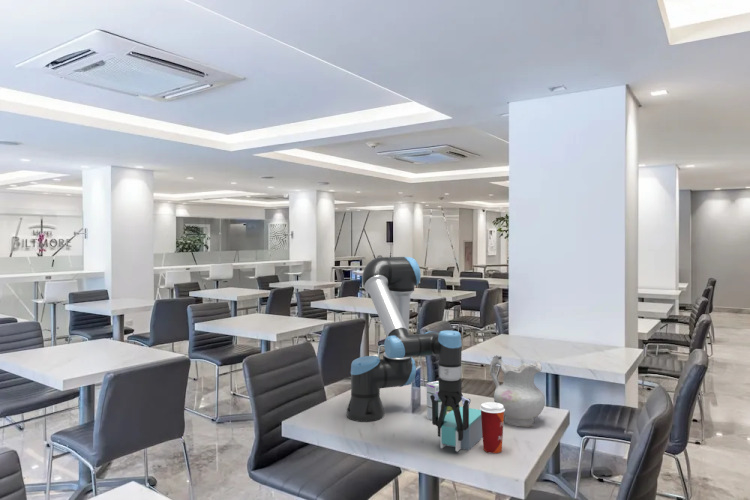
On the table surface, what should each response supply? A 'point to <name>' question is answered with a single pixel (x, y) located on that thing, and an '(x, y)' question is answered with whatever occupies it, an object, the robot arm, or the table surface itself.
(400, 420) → the table surface
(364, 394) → the robot arm
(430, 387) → the syrup box
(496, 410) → the coffee cup
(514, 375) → the ceramic pitcher
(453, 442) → the snap lid
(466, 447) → the parts tub
